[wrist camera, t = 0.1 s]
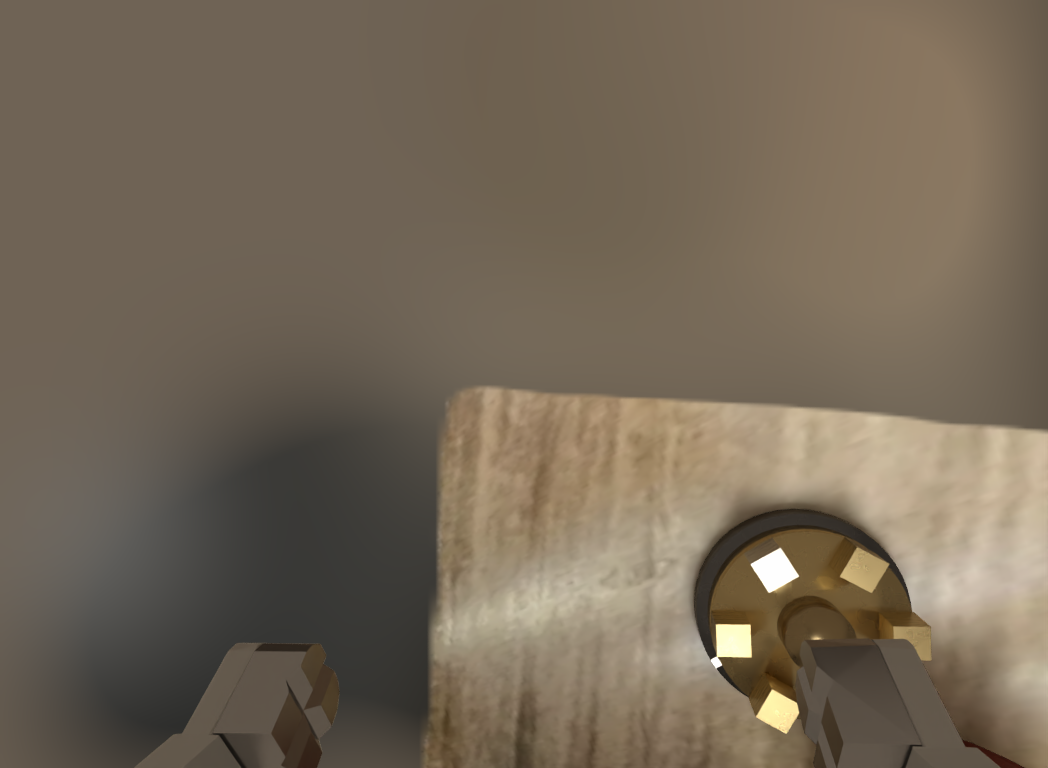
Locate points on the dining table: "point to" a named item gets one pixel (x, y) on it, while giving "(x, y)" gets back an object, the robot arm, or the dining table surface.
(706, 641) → the nut base
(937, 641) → the dining table surface
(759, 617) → the ring nut
